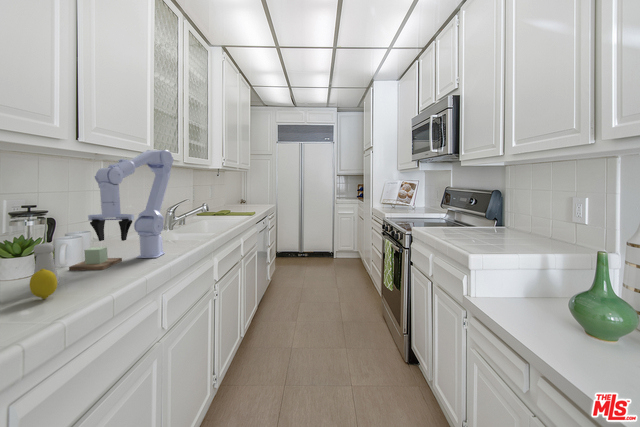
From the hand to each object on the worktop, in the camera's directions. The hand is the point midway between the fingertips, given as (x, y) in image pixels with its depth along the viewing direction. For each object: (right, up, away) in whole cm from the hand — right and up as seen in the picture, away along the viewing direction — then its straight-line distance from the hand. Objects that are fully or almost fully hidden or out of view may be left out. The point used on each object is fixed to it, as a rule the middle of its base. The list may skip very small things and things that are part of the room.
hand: (112, 240), depth 120 cm
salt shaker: (-3, -12, -25) cm, 28 cm away
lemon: (+3, -13, -33) cm, 35 cm away
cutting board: (-7, -9, +2) cm, 12 cm away
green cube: (-7, -8, +2) cm, 11 cm away
